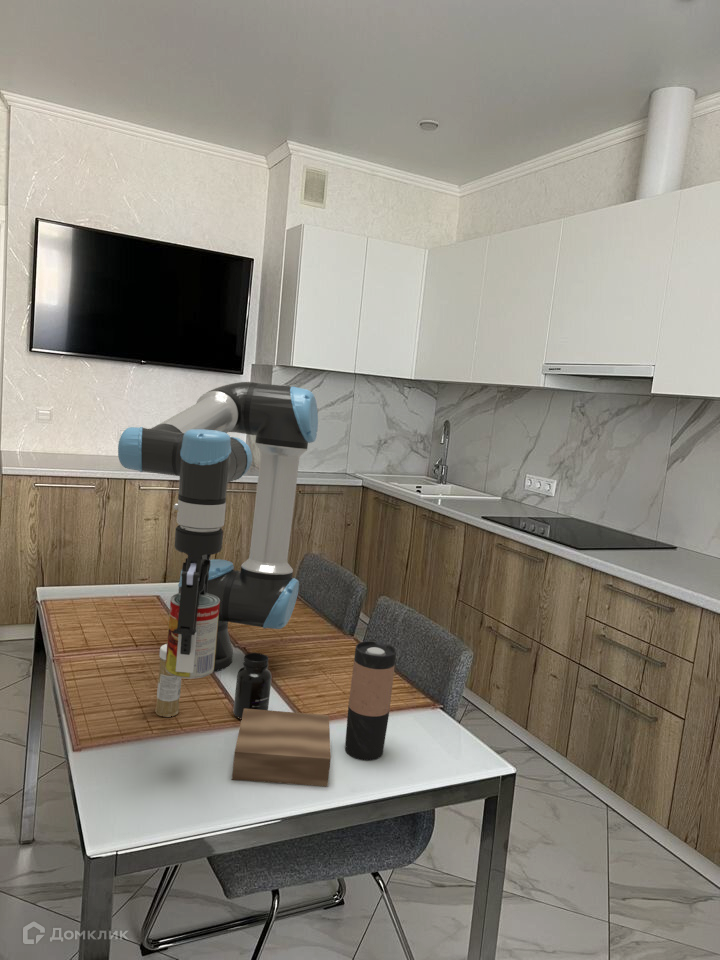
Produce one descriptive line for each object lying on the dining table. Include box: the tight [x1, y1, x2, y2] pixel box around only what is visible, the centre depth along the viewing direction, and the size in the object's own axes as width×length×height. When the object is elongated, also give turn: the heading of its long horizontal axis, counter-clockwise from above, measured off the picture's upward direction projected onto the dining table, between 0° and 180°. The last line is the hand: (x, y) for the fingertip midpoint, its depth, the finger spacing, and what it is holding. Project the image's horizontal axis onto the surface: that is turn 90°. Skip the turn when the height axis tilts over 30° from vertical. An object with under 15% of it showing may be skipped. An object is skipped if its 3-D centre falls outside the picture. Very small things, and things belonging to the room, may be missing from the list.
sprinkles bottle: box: [154, 643, 182, 718], centre depth 143 cm, size 5×5×14 cm
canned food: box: [165, 592, 220, 680], centre depth 122 cm, size 8×8×12 cm
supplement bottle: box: [232, 652, 272, 720], centre depth 147 cm, size 7×7×12 cm
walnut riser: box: [231, 709, 332, 787], centre depth 132 cm, size 16×16×5 cm
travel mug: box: [344, 640, 397, 761], centre depth 137 cm, size 8×8×20 cm
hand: (189, 660), depth 123 cm, fingers closed on canned food, 8 cm apart
